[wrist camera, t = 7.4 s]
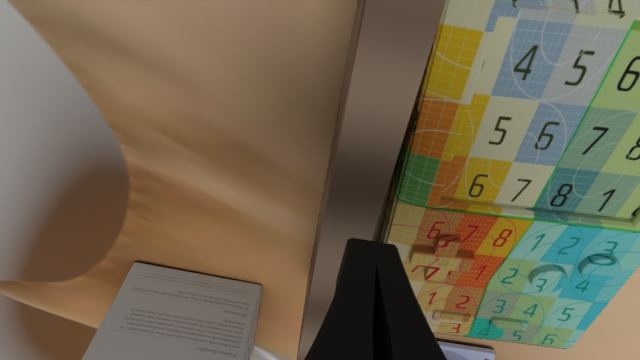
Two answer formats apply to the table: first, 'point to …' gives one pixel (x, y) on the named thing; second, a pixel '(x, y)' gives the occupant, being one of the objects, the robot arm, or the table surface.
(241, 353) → the supplement box
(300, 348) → the shelf corner
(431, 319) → the puzzle game
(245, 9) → the table surface
